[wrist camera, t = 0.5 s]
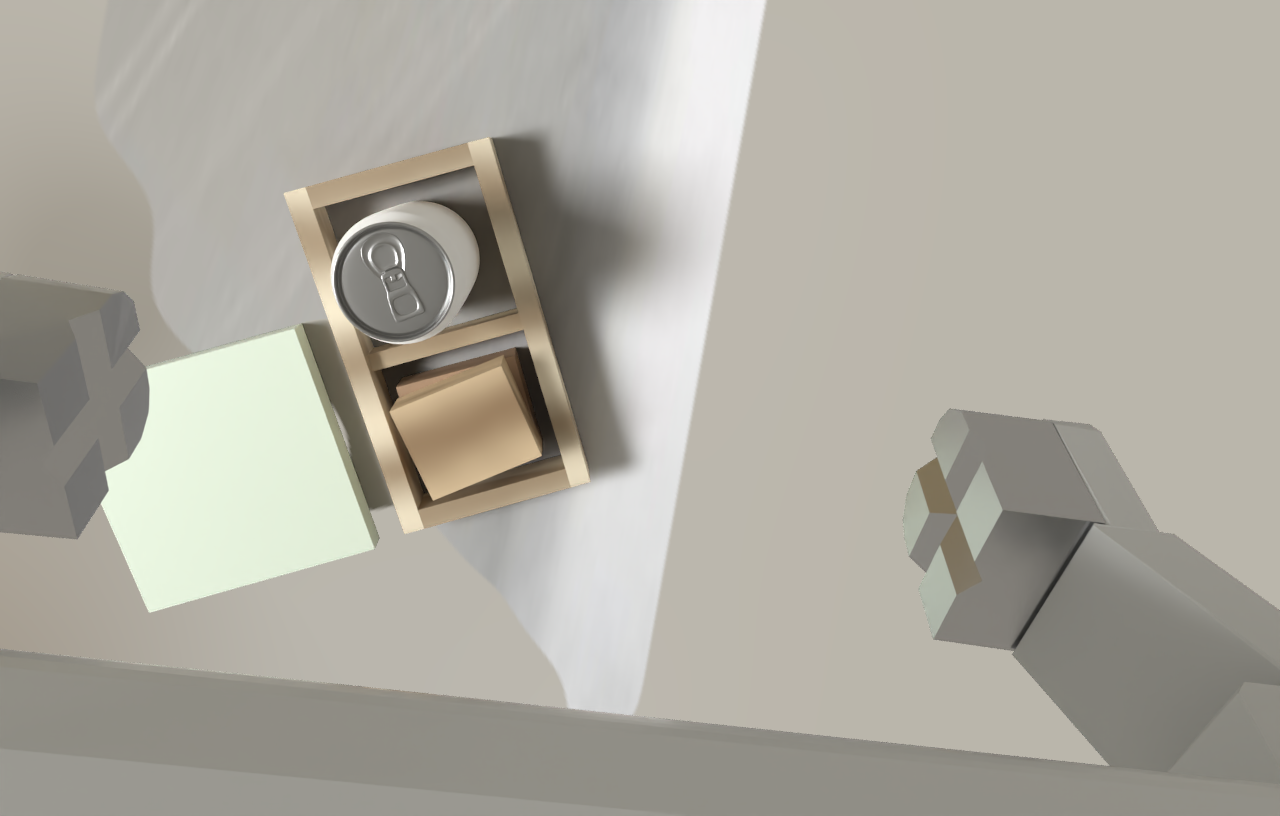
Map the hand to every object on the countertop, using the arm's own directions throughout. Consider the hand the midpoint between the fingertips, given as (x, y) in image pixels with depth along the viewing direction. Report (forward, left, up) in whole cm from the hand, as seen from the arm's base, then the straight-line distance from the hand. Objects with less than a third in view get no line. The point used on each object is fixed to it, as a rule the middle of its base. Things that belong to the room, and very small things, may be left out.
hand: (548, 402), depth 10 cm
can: (-1, +8, -49) cm, 50 cm away
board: (-10, +23, -49) cm, 55 cm away
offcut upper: (-11, +8, -46) cm, 48 cm away
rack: (-6, +8, -49) cm, 50 cm away
